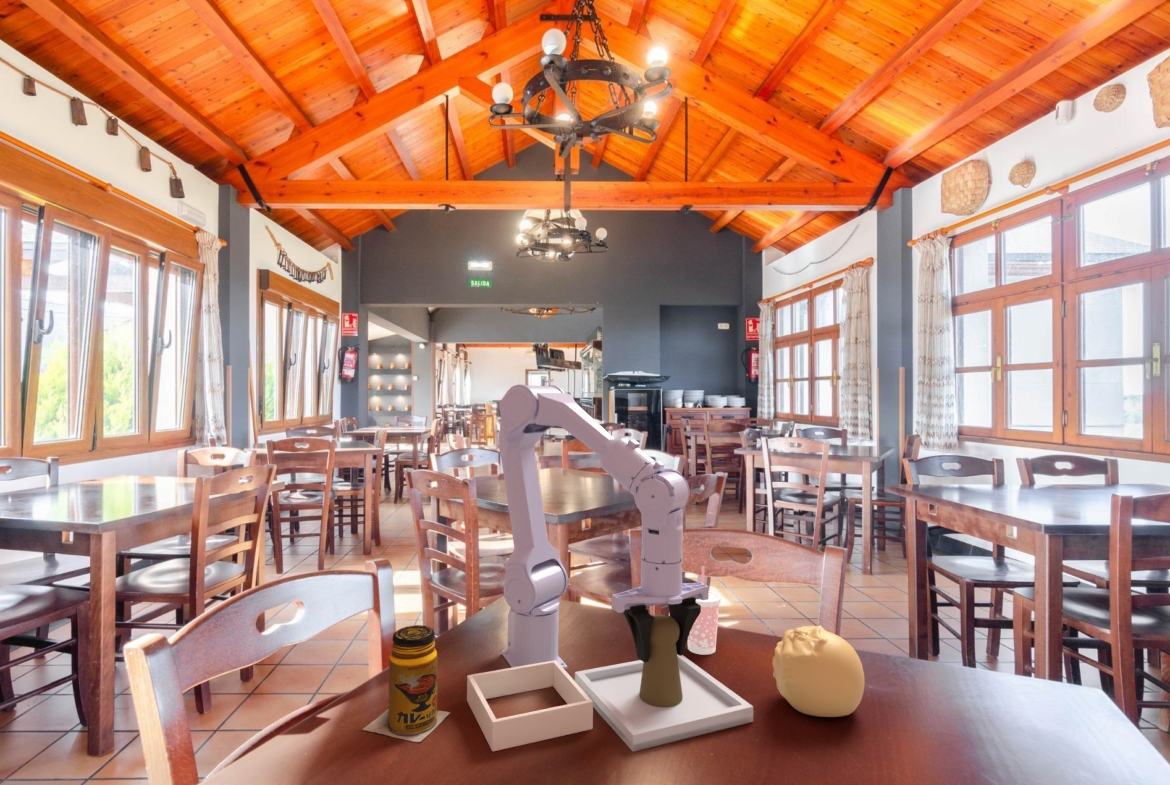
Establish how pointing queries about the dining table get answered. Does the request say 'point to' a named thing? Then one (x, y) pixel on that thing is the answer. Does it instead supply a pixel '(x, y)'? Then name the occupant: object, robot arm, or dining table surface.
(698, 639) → the beverage cup
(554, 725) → the cream bin
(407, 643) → the condiment
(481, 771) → the dining table surface
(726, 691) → the light grey tray
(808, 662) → the sculpture
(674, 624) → the cork
